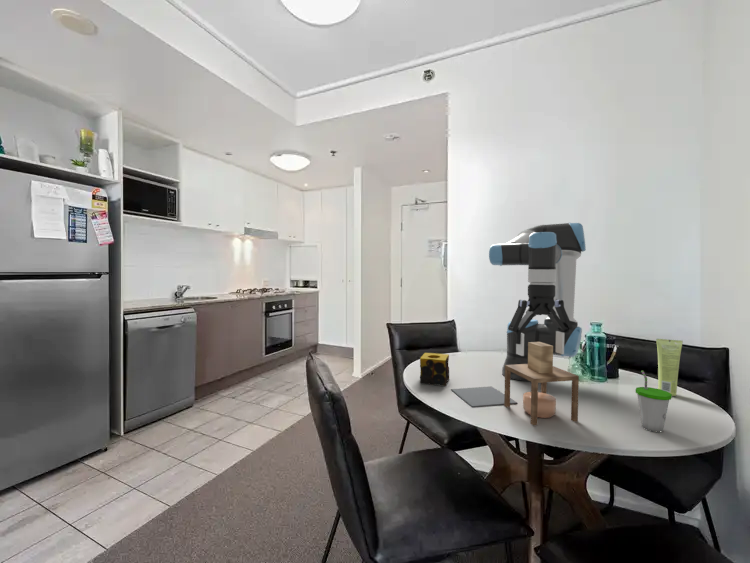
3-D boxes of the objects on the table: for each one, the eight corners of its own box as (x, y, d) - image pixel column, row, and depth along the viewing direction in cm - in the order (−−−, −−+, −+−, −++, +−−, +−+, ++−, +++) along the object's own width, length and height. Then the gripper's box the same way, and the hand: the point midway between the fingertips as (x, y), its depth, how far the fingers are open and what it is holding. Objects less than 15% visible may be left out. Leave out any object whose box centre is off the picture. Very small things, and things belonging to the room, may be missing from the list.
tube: (664, 390, 125) (666, 337, 125) (681, 395, 120) (682, 340, 120) (654, 392, 123) (656, 338, 123) (670, 397, 118) (672, 341, 118)
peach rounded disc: (542, 406, 110) (542, 390, 110) (562, 418, 101) (563, 401, 101) (516, 408, 108) (517, 392, 108) (535, 420, 99) (535, 403, 99)
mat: (491, 387, 128) (491, 386, 128) (517, 403, 112) (517, 402, 112) (451, 390, 125) (451, 389, 125) (472, 407, 109) (472, 406, 109)
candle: (449, 378, 138) (449, 354, 138) (446, 386, 129) (446, 360, 128) (424, 376, 142) (424, 352, 141) (419, 383, 132) (419, 357, 132)
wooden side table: (543, 402, 113) (545, 338, 113) (577, 421, 99) (579, 348, 98) (504, 405, 110) (505, 340, 110) (533, 425, 96) (534, 350, 96)
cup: (673, 438, 89) (675, 380, 89) (636, 430, 94) (637, 375, 93) (667, 426, 96) (669, 373, 96) (633, 420, 100) (634, 369, 100)
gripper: (568, 283, 110) (566, 349, 110) (497, 283, 105) (495, 352, 105) (586, 284, 102) (585, 355, 103) (511, 284, 97) (510, 358, 98)
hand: (540, 354), depth 104 cm, fingers open, 13 cm apart
